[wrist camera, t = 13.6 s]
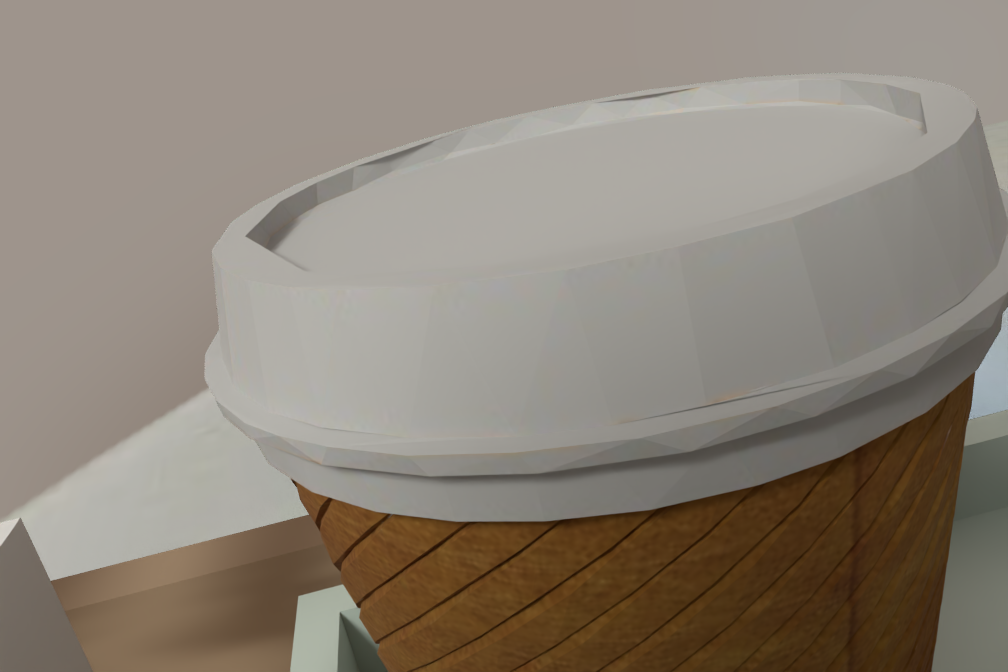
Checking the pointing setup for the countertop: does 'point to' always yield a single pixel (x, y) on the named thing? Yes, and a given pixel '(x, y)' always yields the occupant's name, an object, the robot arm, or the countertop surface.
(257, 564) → the dock
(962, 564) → the tray
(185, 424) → the countertop surface
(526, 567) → the disposable coffee cup
